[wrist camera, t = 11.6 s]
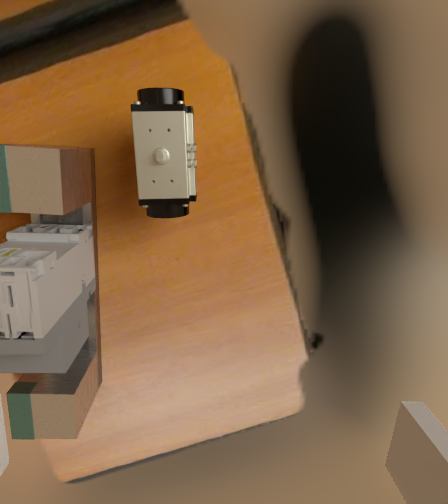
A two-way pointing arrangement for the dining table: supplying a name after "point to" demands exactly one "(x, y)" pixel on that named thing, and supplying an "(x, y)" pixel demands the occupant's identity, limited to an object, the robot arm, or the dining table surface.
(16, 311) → the circuit breaker
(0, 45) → the dining table surface
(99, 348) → the rail with modules
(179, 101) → the pneumatic valve
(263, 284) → the dining table surface
